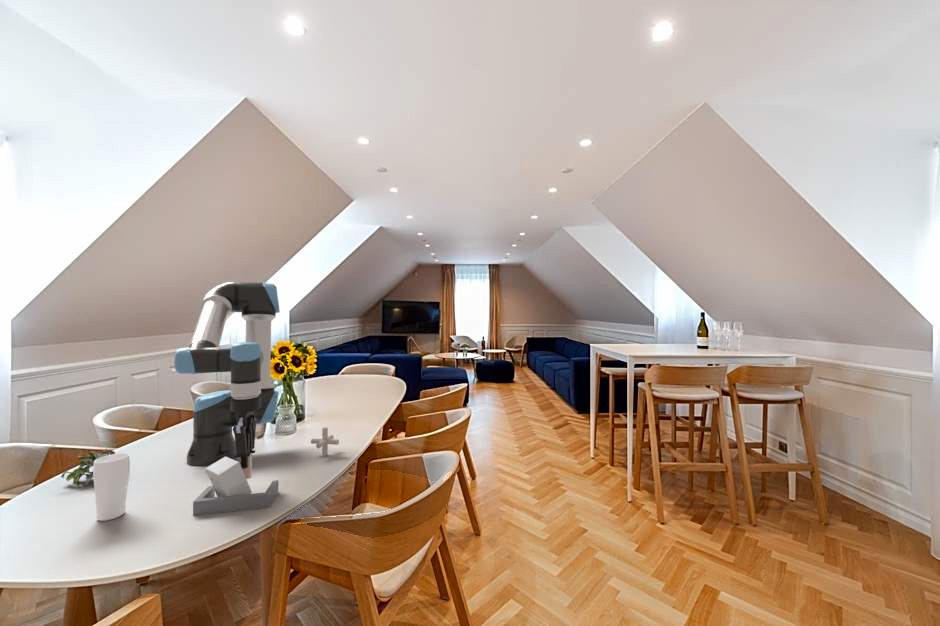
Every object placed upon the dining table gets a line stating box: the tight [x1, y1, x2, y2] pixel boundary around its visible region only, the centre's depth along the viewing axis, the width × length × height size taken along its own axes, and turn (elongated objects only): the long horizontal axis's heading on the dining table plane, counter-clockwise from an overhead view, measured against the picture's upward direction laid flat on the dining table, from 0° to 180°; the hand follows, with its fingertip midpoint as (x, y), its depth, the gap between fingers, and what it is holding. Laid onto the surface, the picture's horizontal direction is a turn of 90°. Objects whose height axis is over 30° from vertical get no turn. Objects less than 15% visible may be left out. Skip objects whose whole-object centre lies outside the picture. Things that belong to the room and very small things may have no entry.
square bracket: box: [192, 479, 279, 516], centre depth 103 cm, size 18×9×4 cm, turn 103°
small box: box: [205, 456, 253, 497], centre depth 104 cm, size 8×6×10 cm
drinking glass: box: [92, 452, 131, 522], centre depth 96 cm, size 7×7×15 cm
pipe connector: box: [310, 426, 340, 457], centre depth 139 cm, size 10×10×10 cm
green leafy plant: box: [60, 448, 117, 488], centre depth 116 cm, size 11×11×12 cm
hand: (245, 477), depth 108 cm, fingers closed
